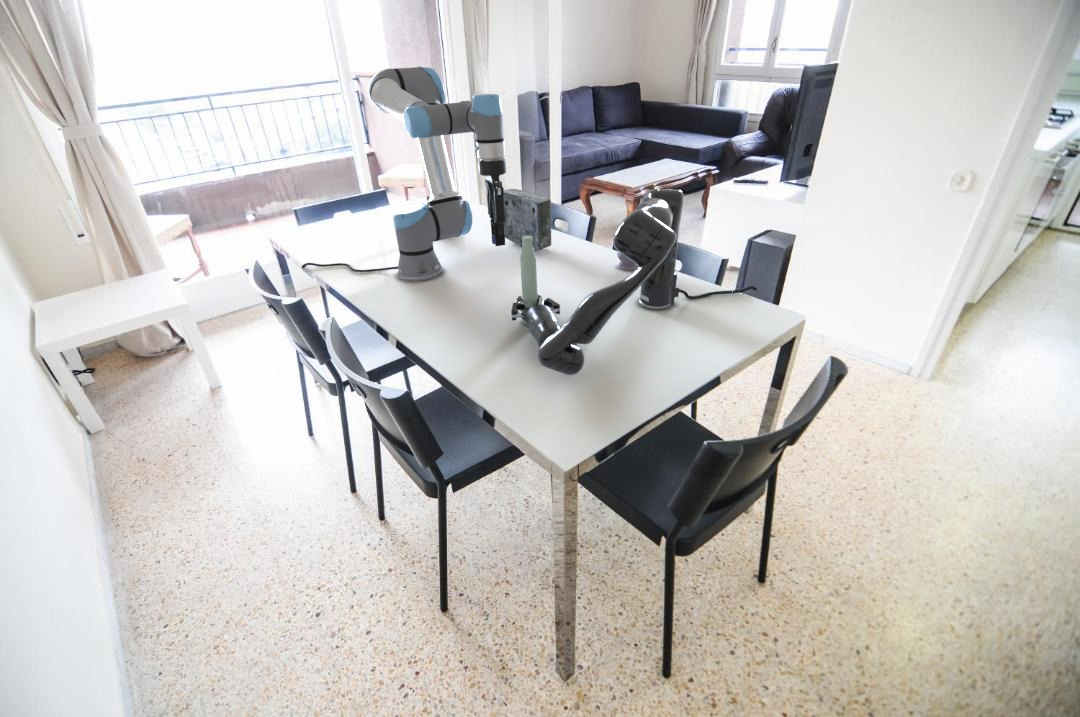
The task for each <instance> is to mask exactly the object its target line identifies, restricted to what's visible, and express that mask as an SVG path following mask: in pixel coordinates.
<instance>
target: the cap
mask: <svg viewBox="0 0 1080 717" xmlns="http://www.w3.org/2000/svg"><path fill="white" fill-rule="evenodd" d="M504 236H505V235H504ZM491 244H493V245H495V234H494V235H492V234H491Z"/></svg>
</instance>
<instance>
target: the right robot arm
mask: <svg viewBox="0 0 1080 717" xmlns="http://www.w3.org/2000/svg"><path fill="white" fill-rule="evenodd" d="M684 202H685V196H684V192H683V191H682V190H681V189H674V188H673V189H670V188H667V189H666V188H652V189H648V190H647V191H646V192H645V194H644V195H643V197H642V200H641V202H640V203H639V204H638V205H637V206H636V207H635V208H634V209H633V210H632V211H631V212H630V213H629V214H627V215H626V216H625V217H624V218H623V220H622V221H621V222H620V223H619V225H618V227H617V228H616V230H615V232H614V235H613V239H612V243H613V246H614V249H615V250H616V251H617V252H618V251H619V252H620V253H621V254H622V255H624V256H625V257H627V258H628V259H630V260H631V261H632V262H634V263H636V264H637V268H636V269H634V270H632V272H631V273H630V274H629V275H627V276H626V277H624V278H623V279H621V280H619V281H617V282H615V283H613V284H610V285H607V286H605V287H602V288H600V289H598V290H596V291H593V292H591V293H590V294H589V295H587V296H586V297H584V299H583V300H582V301H580V303H579V304H578V306H577V308H576V309H575V310H574V312H573V313H572V315H571V316H570V317H569V319H567V321H566V322H565V323H564V324H562V325H561V324H560V322H559V320H558V318H557V317H556V315H560V314H561V304H560V303H558V302H556V301H555V300H553V299H552V298H550V297H547V298H545V299H544V298H543V297H542V296H541V295H540V294H539V293H537V296H538V304H537V305H530V304H528V303H527V302H526V303H525V302H523V299H522V295H518V296H517V297H516V302H513V303H512V305H511V310H510V314H511V321H516V320H517V319H521V320H523V321H524V320H525V322H526V324H527V325H526V324H525V325H526V327H527V328H528V330H529V333H530V334H531V336H532V337H533V339H534V340H535V342H536V344H537V345H538V347H539V349H538V352H537V358H538V362H539V363H540V365H541V366H542V367H544V368H547V369H549V370H552V371H555V372H558V373H560V374H563V375H566V376H574V375H576V374H578V373H580V372H581V370H582V369H583V367H584V365H585V354H584V351H583V349H582V347H581V346H580V345H589V344H591V343H592V342H593V341H594V340H595V339H596V337H597V336H598V335H599V334H600V332H601V331H602V329H603V328H604V327H605V326H606V324H607V323H608V322H609V320H610V319H611V318H612V317H613V315H614V314H615V313H616V312H617V311H618V310H619V309H620V308H621V307H622V305H624V304H625V303H626V301H628V299H629V298H631V296H632V295H633V294H635V293H636V291H637V290H638V289H639V288H640V293H639V301H638V302H639V305H640V306H641V307H643V308H645V309H648V310H653V311H660V310H666V309H669V308H670V307H671V306H675V299H676V298H679V293H681V294H683V295H684V296H685V298H687V299H689V300H696V299H697V300H698V299H702V298H706V297H710V296H715V295H716V296H717V295H728V294H731V295H732V294H740V293H744V292H747V291H749V290H753V291H758V289H757V287H756V286H754V285H749V286H746V287H744V288H741V289H734V290H733V289H732V290H731V289H730V290H717V291H710V292H705V293H703V294H699V295H689V293H688V292H687V291H685V290H684V289H682V288H680V287H679V286H677V281H678V274H676V264H677V257H678V256H677V254H678V247H679V237H680V236H679V234H680V228H681V223H682V222H681V221H682V216H683V209H684ZM732 291H733V292H732ZM555 314H556V315H555Z"/></svg>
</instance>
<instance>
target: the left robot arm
mask: <svg viewBox="0 0 1080 717" xmlns="http://www.w3.org/2000/svg"><path fill="white" fill-rule="evenodd" d="M367 94H368V98H369V101H370V102H371V104H372V105H373V106H374V107H375V108H376V109H377V110H379V111H380V112H382V113H385V114H391V115H392V116H394V117H395V118H397V119H398V120H400V121H402V122H403V126H404V129H405V131H406V132H407V135H408V136H409V137H410V138H412V139H417V142H418V147H419V151H420V154H421V159H422V162H423V167H424V171H425V175H426V179H427V184H428V187H429V191H430V199H429V201H427V203H428V202H429V206H430V207H427V203H424V202H423V203H422V202H417V203H410V204H406V205H403V206H401V207H399V208H397V209H396V210H395V211H394V213H393V215H392V219H393V228H394V230H395V231H394V232H395V236H396V241H397V247H398V251H399V259H398V265H397V266H389V267H382V268H381V267H380V268H370V269H356V268H353V266H352V265H350V264H348V263H343V262H340V263H339V262H337V263H325V264H324V263H323V264H320V263H314V262H306V263H303V265H302V266H301V269H304V268H305V267H306V266H313V267H314V266H315V267H319V268H320V267H321V268H323V267H337V266H342V267H343V266H344V267H345V266H346V267H348V268H349V269H350V270H351V271H352V272H356V273H372V272H382V271H391V270H397V276H398V278H399V279H400V280H402V281H406V282H413V283H414V282H425V281H429V280H432V279H435V278H438V277H439V276H440V275H441V274H442V273H443V268H442V264H441V263H440V260H439V259H438V256H437V254H436V252H435V250H434V243H435V242H439V241H443V240H449V239H453V238H454V239H455V238H459V237H463V236H465V235H467V234H469V232H470V231H471V229H472V227H473V212H472V207H471V205H470V202H468V200H465V199H463V197H462V194H461V193H460V192H458V191H457V189H456V184H455V181H454V176H453V173H452V168H451V163H450V159H449V155H448V151H447V146H446V142H445V137H444V136H448V135H449V136H450V135H459V134H466V133H474V136H475V144H476V146H474V150H475V151H476V154H477V158H478V160H477V168H478V174H479V175H480V176H483V177H486V179H484V182H483V183H484V186H485V194H486V205H487V214H488V216H489V219H490V231H491V236H492V235H494V234H495V244H494V245H495V247H500V246H506V238H505V236H504V224H503V223H505V212H504V190H505V188H504V187H503V182H502V180H501V179H500V176H502V175H506V173H507V161H506V159H505V157H506V144H505V143H506V142H505V134H504V133H505V132H504V114H503V113H504V111H503V108H502V99H501V96H500V95H499V94H498V93H482V94H481V93H480V94H474V95H473V96H472V98H471V100H460V101H458V102H450V103H445V102H446V97H445V94H446V92H445V87H444V84H443V81H442V78H441V77H440V75H439V73H438V72H437V71H436V70H435V69H434V68H432V67H428V66H427V67H425V66H415V67H398V68H396V67H395V68H385V69H382V70H380V71H378V72H376V73H375V74H374V75H373V76H372V77H371V78H370V80H369V82H368V85H367Z"/></svg>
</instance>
